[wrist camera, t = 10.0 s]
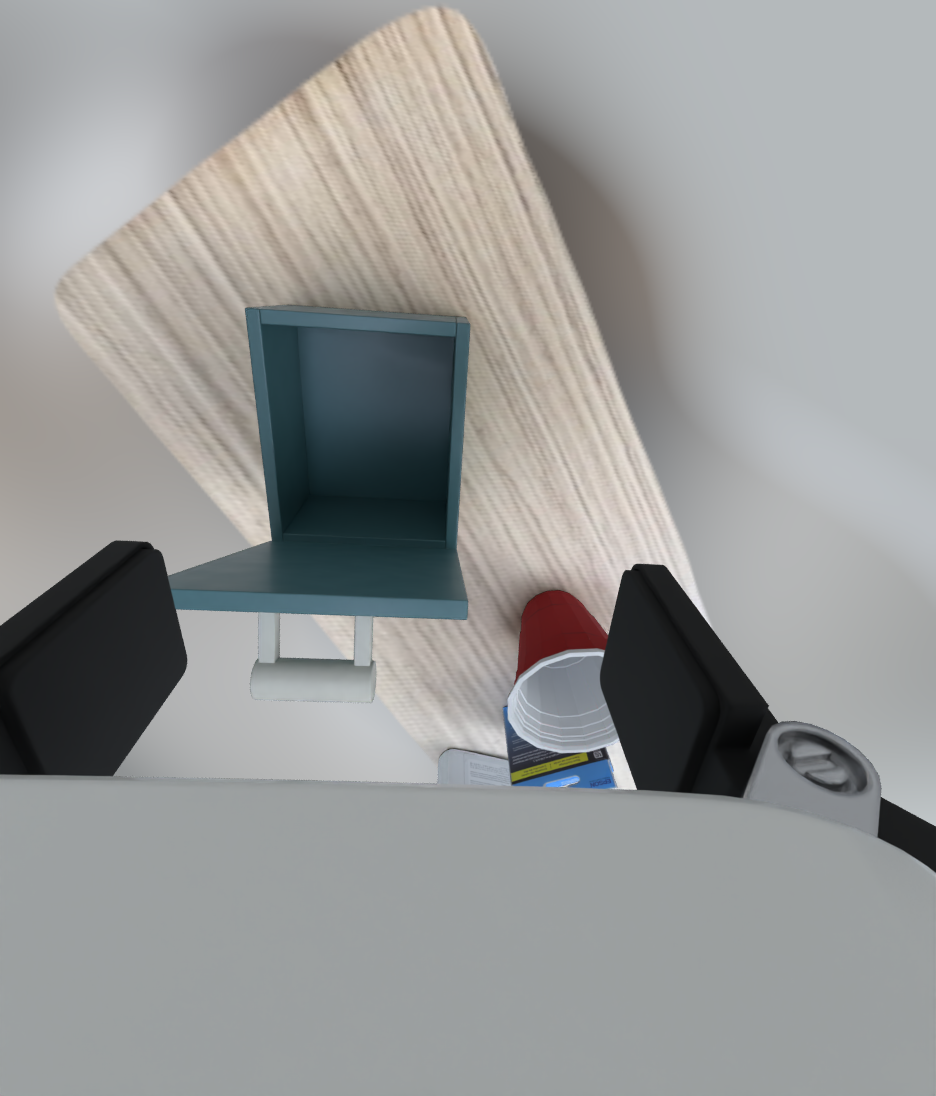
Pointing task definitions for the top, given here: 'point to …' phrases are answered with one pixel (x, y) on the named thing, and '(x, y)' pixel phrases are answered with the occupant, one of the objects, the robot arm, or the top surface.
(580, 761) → the label tape box
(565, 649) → the plastic cup
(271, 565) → the lid
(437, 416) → the chest
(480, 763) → the photo printer
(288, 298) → the top surface
